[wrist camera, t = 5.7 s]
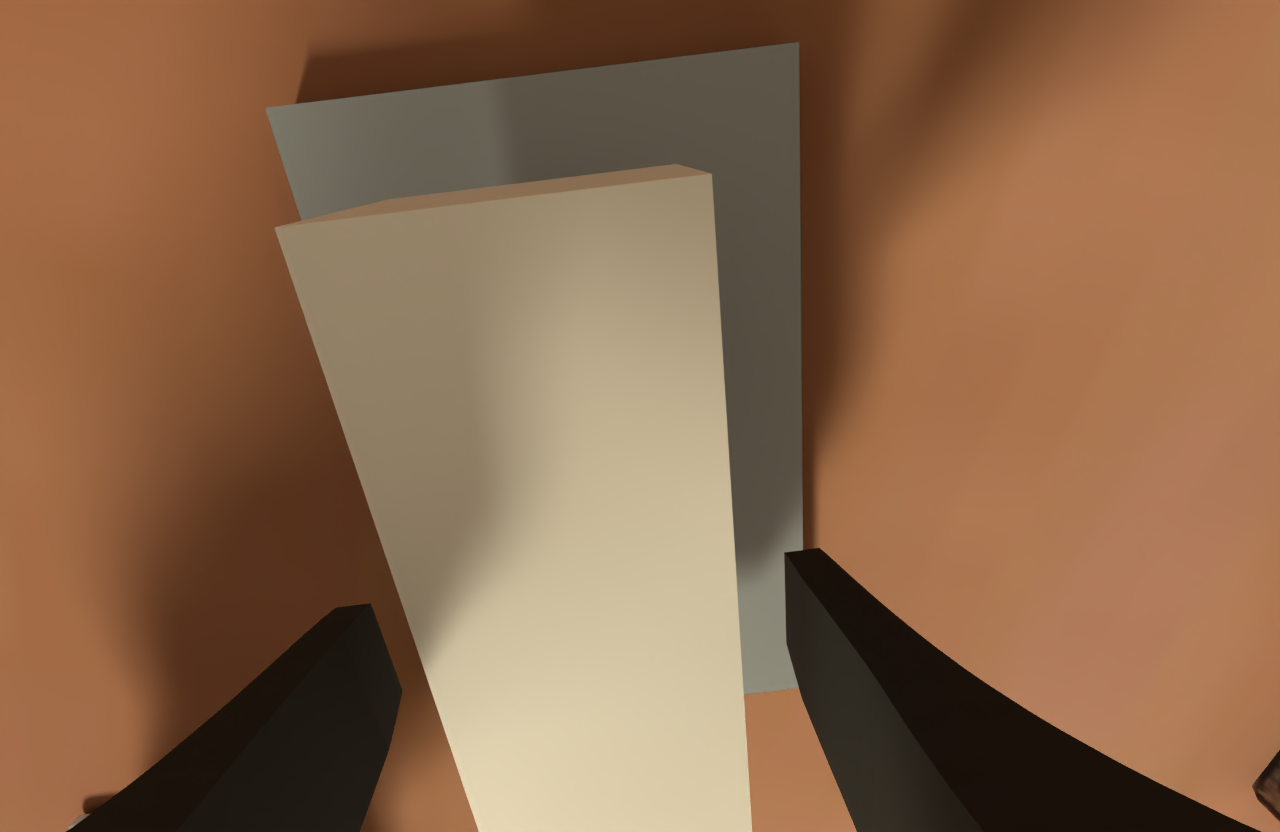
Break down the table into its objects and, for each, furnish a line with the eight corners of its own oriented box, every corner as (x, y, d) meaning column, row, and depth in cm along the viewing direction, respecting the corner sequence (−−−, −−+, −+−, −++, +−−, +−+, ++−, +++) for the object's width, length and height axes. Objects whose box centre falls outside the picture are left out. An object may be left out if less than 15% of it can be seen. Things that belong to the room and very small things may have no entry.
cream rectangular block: (723, 733, 16) (756, 904, 13) (534, 756, 16) (513, 933, 13) (676, 163, 11) (711, 173, 7) (388, 199, 11) (274, 227, 7)
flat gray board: (793, 659, 21) (835, 773, 17) (471, 698, 21) (441, 821, 17) (783, 50, 14) (851, 13, 10) (292, 110, 14) (169, 96, 10)
